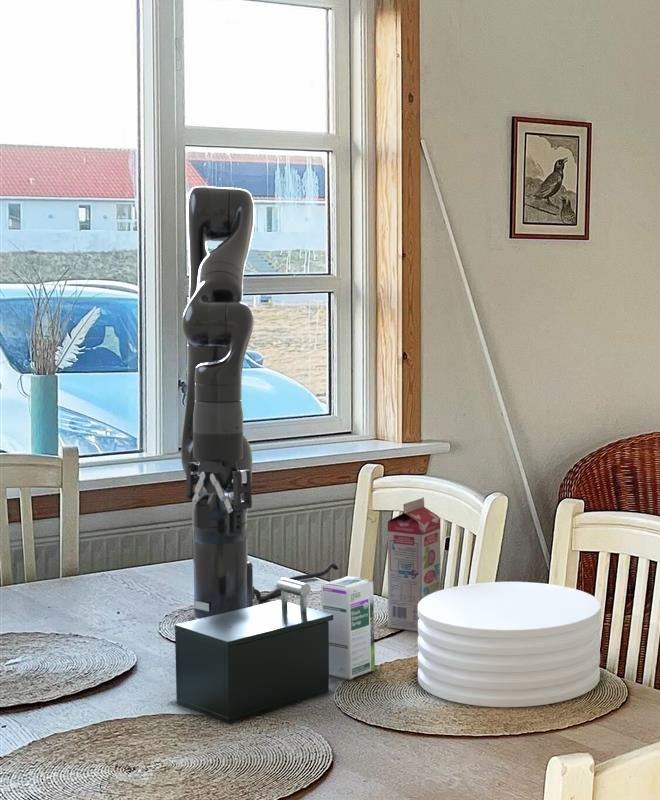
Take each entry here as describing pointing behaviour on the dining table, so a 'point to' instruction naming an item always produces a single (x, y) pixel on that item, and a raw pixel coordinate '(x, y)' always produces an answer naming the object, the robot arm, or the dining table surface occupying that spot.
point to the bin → (251, 672)
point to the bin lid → (258, 618)
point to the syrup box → (350, 626)
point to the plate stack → (509, 643)
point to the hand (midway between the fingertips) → (218, 531)
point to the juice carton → (412, 563)
